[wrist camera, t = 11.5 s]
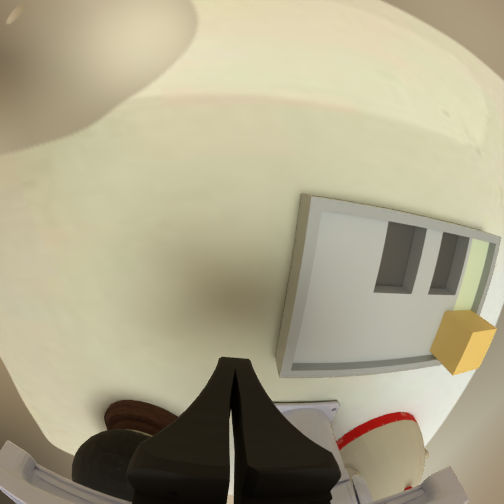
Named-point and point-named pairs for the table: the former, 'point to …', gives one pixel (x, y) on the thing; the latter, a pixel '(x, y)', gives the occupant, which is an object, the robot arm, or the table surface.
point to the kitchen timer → (385, 454)
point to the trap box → (375, 288)
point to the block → (462, 340)
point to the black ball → (117, 447)
